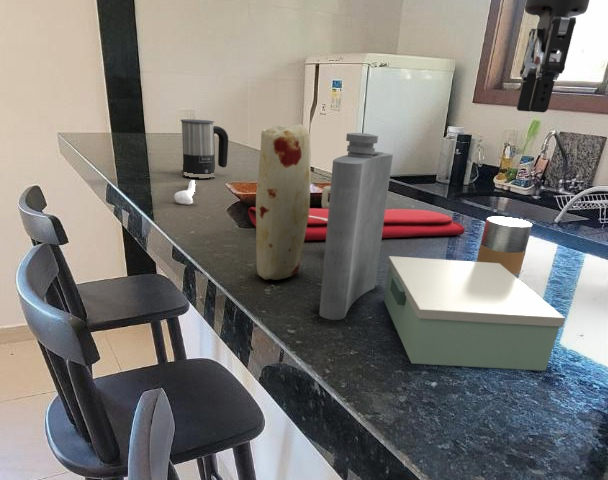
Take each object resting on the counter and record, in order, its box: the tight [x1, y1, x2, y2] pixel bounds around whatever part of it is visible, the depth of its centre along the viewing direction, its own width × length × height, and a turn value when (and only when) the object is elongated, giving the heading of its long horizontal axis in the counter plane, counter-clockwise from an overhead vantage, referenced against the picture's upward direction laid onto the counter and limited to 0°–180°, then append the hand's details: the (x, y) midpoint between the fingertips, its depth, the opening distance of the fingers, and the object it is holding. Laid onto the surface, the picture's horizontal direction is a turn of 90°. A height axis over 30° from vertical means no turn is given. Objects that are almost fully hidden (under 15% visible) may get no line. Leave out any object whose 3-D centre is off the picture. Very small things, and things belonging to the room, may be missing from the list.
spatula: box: [173, 179, 197, 206], centre depth 126 cm, size 28×4×3 cm, turn 8°
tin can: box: [475, 216, 533, 279], centre depth 74 cm, size 6×6×10 cm
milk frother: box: [180, 118, 229, 180], centre depth 151 cm, size 14×16×15 cm
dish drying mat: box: [247, 206, 466, 242], centre depth 104 cm, size 16×41×4 cm, turn 113°
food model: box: [255, 123, 312, 281], centre depth 72 cm, size 10×7×20 cm
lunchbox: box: [383, 255, 566, 372], centre depth 61 cm, size 16×18×6 cm
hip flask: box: [318, 132, 394, 321], centre depth 65 cm, size 16×4×20 cm, turn 157°
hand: (530, 111), depth 73 cm, fingers open, 8 cm apart
